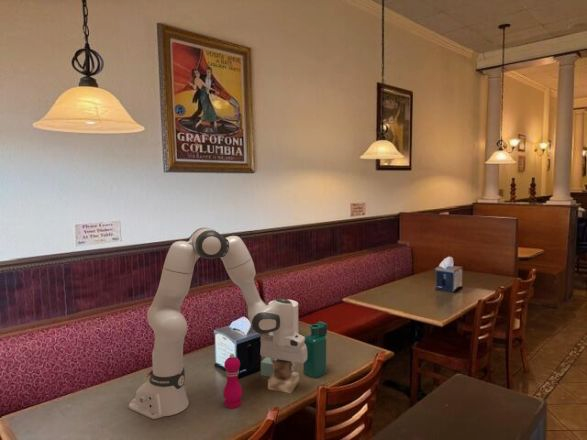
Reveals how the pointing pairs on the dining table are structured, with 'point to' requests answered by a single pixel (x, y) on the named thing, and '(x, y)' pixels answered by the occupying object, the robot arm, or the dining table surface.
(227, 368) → the pepper mill
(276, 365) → the walnut block
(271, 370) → the teal block
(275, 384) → the maple base
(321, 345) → the green water bottle
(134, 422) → the dining table surface
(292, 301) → the canister
